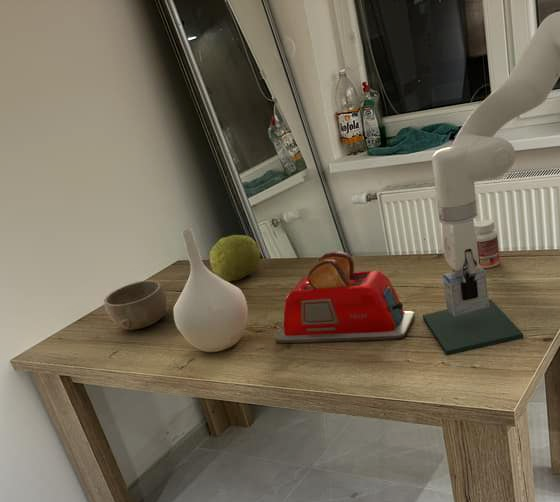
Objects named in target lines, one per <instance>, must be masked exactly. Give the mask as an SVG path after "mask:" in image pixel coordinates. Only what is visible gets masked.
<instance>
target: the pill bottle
mask: <svg viewBox="0 0 560 502" xmlns="http://www.w3.org/2000/svg"><path fill="white" fill-rule="evenodd" d="M474 226H475V232H476V239H477V246H478V256H479V264H478V266H479V267H481V268H482V269H490V268H494V267H496V266H498V265H499V264H500V261H501V260H500V250H499V238H498V232H497V231H496V230H495V228H496V227H495V221H494V220H492V219H481V220H477V221H474Z"/></svg>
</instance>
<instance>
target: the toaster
mask: <svg viewBox="0 0 560 502" xmlns="http://www.w3.org/2000/svg"><path fill="white" fill-rule="evenodd" d="M403 307H404V304H403V303H402V302H400V299H399V296H398V295H397V292H396V290H395V288H394V286H393V284H392V283H391V281H390V279H389V277H388V276H387V275H385V274H384V273H383V272H382V271H380V270H367V271H365V270H364V271H355V261H354V259H353V258H352V256H351V255H350V254H347V253H346V252H344V251H343V252H342V251H330V252H326V253H324V254H323V255H321V256H320V257H319V258H318V262H316V264H315V265H313V267H312V268H311V269H310V270H309V272H308V274H307V276H303V277H302V278H301V279H300V280H299V281H298V282H297V284H295V286H294V287H293V288H292V290H291V291H289V293H288V294H287V296H286V297H285V301H284V310H283V327H282V329H281V330H280V332H279V333H277V335H276V336H275V337H274V341H275V342H276V343H279V344H302V343H303V344H306V343H334V342H360V341H361V342H364V341H387V340H390V341H391V340H400V339H404V338H405V336H406V335H407V333H408V331H409V329H410V326H411V325H412V322H413V321H414V319H415V316H416V312H414V311H412V310H408V311H407V310H404V309H403Z"/></svg>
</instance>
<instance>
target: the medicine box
mask: <svg viewBox="0 0 560 502" xmlns="http://www.w3.org/2000/svg"><path fill="white" fill-rule="evenodd" d="M475 268H476V272H477V273H476V278H477V289H478V297H477V298H474V299H470V300H465V301H464V300H463V299H462V291H461V282H462V278H461V273H460V270H459V271H453V270H452V271H449V272H447V273H444V274H442V280H443V288H444V295H445V303H446V310H448V311H449V312H450V313H451V314H452V315H453V316H454V317H456V316H460V315H463V314H467V313H470V312H474V311H477V310H481V309H484V308H488V307H489V301H488V300H489V293H488V281H487V271H486V270H485V269H484V268H481V267H479V266H477V267H475ZM464 273H465V275H466V273H468V270H466V271H464Z"/></svg>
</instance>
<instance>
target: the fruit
mask: <svg viewBox="0 0 560 502" xmlns="http://www.w3.org/2000/svg"><path fill="white" fill-rule="evenodd" d="M260 260H261V248H260V247H259V246H258V244H257V242H256V241H255V240H254V239H253V238H252V237H250V236H249V235H243V234H232V235H229V236H226V237H225V236H224V237H221V238H219V239H218V241H217V242H216V243H215V244H214V245H213V246H212V248H211V250H210V251H209V264H210V267H211V270H212V272H213V273H214V274H215V275H217V276H218V277H220V278H221V279H223V280H225V281H227V282H229V283H230V282H233V281H234V282H235V281H239V280H242V279H244V278H245V277H247V276H250V274H252V273H254V272H255V271H256V269H257V268H258V267H259V264H260Z"/></svg>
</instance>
